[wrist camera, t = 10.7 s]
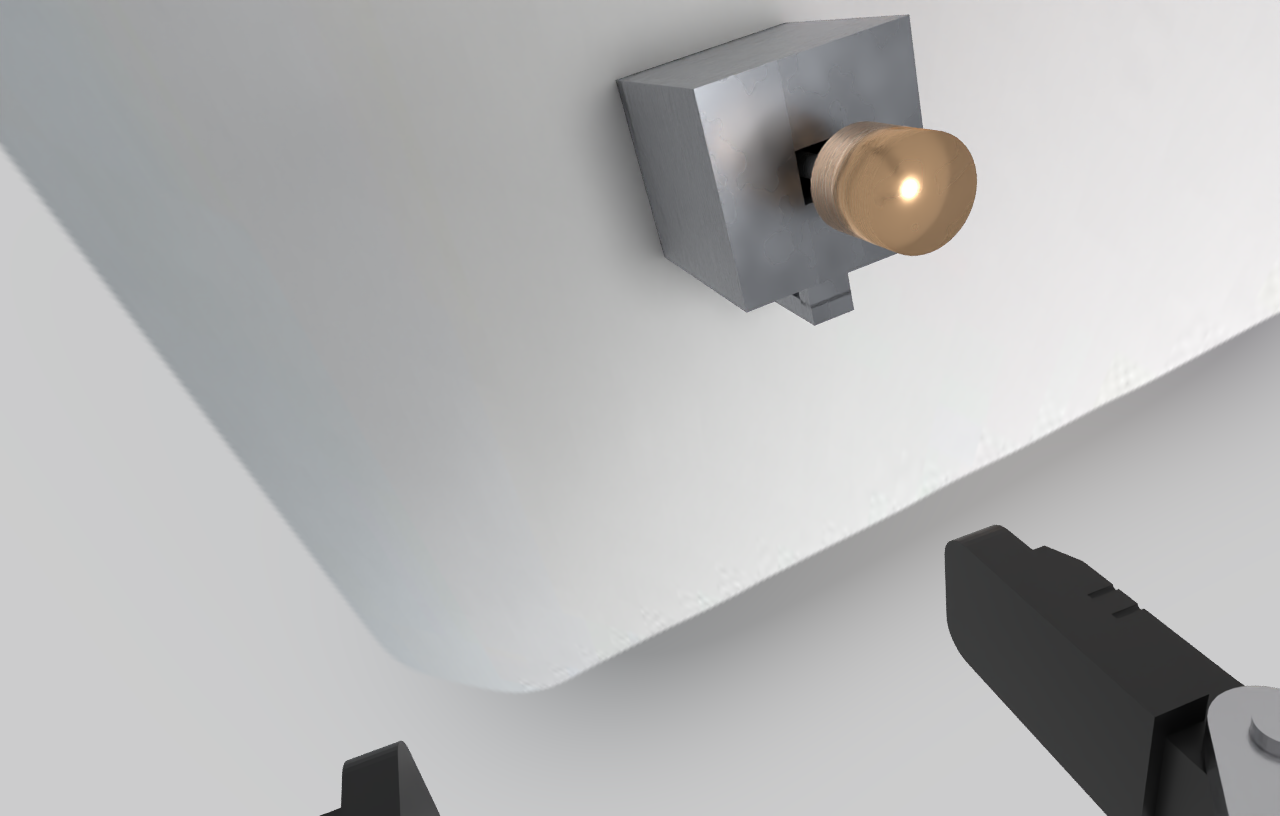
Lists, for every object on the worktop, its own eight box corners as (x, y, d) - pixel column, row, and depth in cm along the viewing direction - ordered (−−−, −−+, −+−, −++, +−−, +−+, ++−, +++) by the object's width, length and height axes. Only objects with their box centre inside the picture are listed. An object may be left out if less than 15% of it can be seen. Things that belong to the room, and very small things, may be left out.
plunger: (653, 96, 39) (809, 121, 26) (788, 50, 40) (1007, 49, 27) (690, 239, 42) (846, 329, 29) (814, 193, 43) (1022, 257, 30)
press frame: (615, 80, 40) (693, 89, 31) (785, 22, 41) (909, 14, 32) (677, 300, 45) (759, 365, 36) (825, 243, 47) (942, 291, 37)
